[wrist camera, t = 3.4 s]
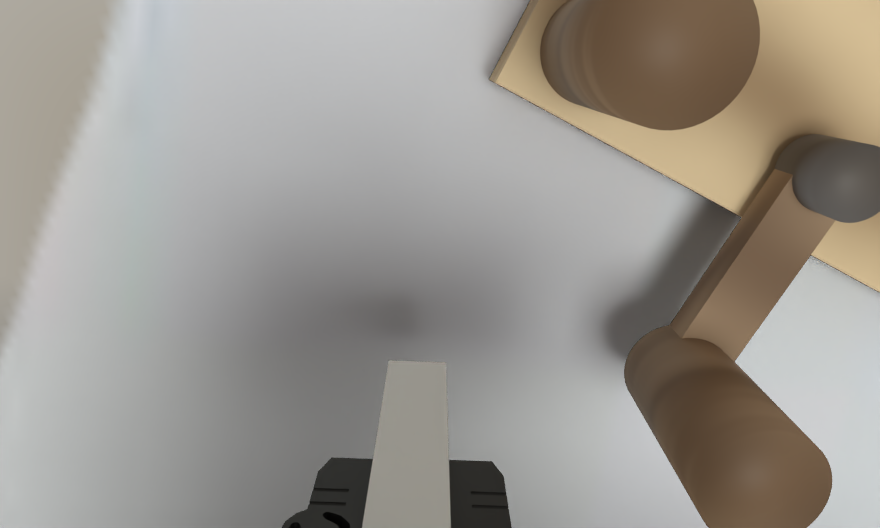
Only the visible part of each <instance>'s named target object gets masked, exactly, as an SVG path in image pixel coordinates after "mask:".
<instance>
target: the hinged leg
mask: <svg viewBox="0 0 880 528" xmlns="http://www.w3.org/2000/svg"><path fill="white" fill-rule="evenodd" d="M878 212H880V147H878V146H875V145H871V144H866V143H861V142H856V141H851V140H846V139H841V138H836V137H831V136H826V135H820V134H811V135H806V136H803V137H800V138H798V139H796V140H794V141H793V142H791V143H790V144H789V145H788V146H787V147H786V148H785V149H784V150H783V151H782V153H781V154H780V156H779V157H778V160H777V162H776V165H775V169H774V170H773V172H772V173H771V175H770V176H769V178H768V179H767V181H766V182H765V184H764V185H763V187H762V188H761V190H760V191H759V193H758V194H757V196H756V197H755V199H754V200H753V202H752V203H751V205H750V206H749V208H748V209H747V211H746V212H745V214H744V215H743V217H742V218H741V220H740V221H739V223H738V224H737V225H736V227H735V228H734V230H733V231H732V233H731V234H730V236H729V237H728V239H727V240H726V242H725V243H724V245H723V246H722V248H721V249H720V251H719V252H718V254H717V255H716V257H715V258H714V260H713V261H712V263H711V264H710V266H709V267H708V269H707V270H706V272H705V273H704V275H703V276H702V278H701V279H700V281H699V282H698V284H697V285H696V287H695V288H694V290H693V291H692V292H691V294H690V295H689V297H688V298H687V300H686V301H685V303H684V304H683V306H682V307H681V309H680V310H679V312H678V313H677V315H676V316H675V318H674V319H673V321H672V322H671V324H670V325H668V326H663V327H660V328H657V329H655V330H653V331H651V332H649V333H648V334H646V335H645V336H643V337H642V338H641V339H640V340H639V341H638V342H637V343H636V344H635V345H634V347H633V348H632V349H631V351H630V353H629V355H628V357H627V359H626V363H625V369H624V378H625V383H626V386H627V388H628V390H629V392H630V394H631V396H632V397H633V399H634V401H635V403H636V404H637V406H638V408H639V410H640V411H641V413H642V415H643V417H644V418H645V420H646V422H647V423H648V425H649V427H650V429H651V430H652V432H653V434H654V436H655V437H656V439H657V441H658V443H659V444H660V446H661V448H662V450H663V451H664V453H665V455H666V456H667V458H668V460H669V462H670V463H671V465H672V467H673V469H674V470H675V472H676V474H677V476H678V477H679V479H680V481H681V483H682V484H683V486H684V488H685V489H686V491H687V493H688V495H689V496H690V498H691V500H692V502H693V503H694V505H695V507H696V509H697V510H698V512H699V514H700V516H701V517H702V519H703V521H704V522H705V523H706V525H707V526H708V527H709V528H807V527H808V526H809V525H810V524H811V523H812V522H813V521H814V520H815V519H816V518H817V517H818V516H819V515H820V513H821V512H822V510H823V509H824V507H825V505H826V503H827V501H828V499H829V496H830V492H831V488H832V472H831V468H830V465H829V463H828V460H827V458H826V457H825V455H824V454H823V452H822V451H821V450H820V449H819V448H818V447H817V446H816V445H815V444H814V443H813V442H812V441H811V440H810V439H809V438H808V437H807V436H806V435H805V434H804V433H803V432H802V431H801V429H800V428H799V427H798V426H797V425H796V424H795V423H794V422H793V421H792V420H791V419H790V418H789V417H788V416H787V415H786V414H785V413H784V412H783V411H782V410H781V409H780V408H779V407H778V406H777V405H776V404H775V403H774V402H773V401H772V400H771V399H770V398H769V397H768V396H767V395H766V394H765V393H764V392H763V391H762V390H761V389H760V388H759V387H758V386H757V385H756V383H755V382H754V381H753V380H752V379H751V378H750V377H749V376H748V375H747V374H746V373H745V372H744V371H743V370H742V369H741V368H740V367H739V366H738V365H737V364H736V363H735V360H736V359H737V357H738V356H739V355H740V353H741V352H742V350H743V349H744V348H745V346H746V345H747V343H748V342H749V341H750V339H751V338H752V336H753V335H754V334H755V332H756V331H757V329H758V328H759V327H760V325H761V324H762V322H763V321H764V320H765V318H766V317H767V316H768V314H769V313H770V311H771V310H772V309H773V307H774V306H775V304H776V303H777V302H778V300H779V299H780V297H781V296H782V295H783V293H784V292H785V290H786V289H787V288H788V286H789V285H790V283H791V282H792V281H793V279H794V278H795V276H796V275H797V274H798V272H799V271H800V269H801V268H802V267H803V265H804V264H805V262H806V261H807V260H808V258H809V257H810V255H811V254H812V253H813V251H814V250H815V248H816V247H817V246H818V244H819V243H820V242H821V240H822V239H823V237H824V236H825V235H826V233H827V232H828V230H829V229H830V228H831V226H832V225H833V223H834V222H835V221H839V222H844V223H855V222H860V221H864V220H866V219H869V218H871V217H873V216H874V215H876V214H877V213H878Z"/></svg>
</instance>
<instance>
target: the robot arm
mask: <svg viewBox="0 0 880 528" xmlns="http://www.w3.org/2000/svg"><path fill="white" fill-rule="evenodd" d="M282 528H512V527H511V521H510V515H509V509H508V502H507V496H506V489H505V483H504V477H503V475H502V474H501V472H500V471H499V470H498V469H497V467H496V466H495V465H494V464H493V462H492V461H463V460H449V446H448V412H447V377H446V362H419V361H391V360H389V362H388V368H387V374H386V380H385V387H384V393H383V399H382V405H381V412H380V418H379V424H378V430H377V437H376V443H375V449H374V455H373V459H355V458H331V459H330V460H329V461H328V462H327V463H326V464H325V465H324V466H323V467H322V468H321V469H320V470H319V471H318V474H317V478H316V481H315V485H314V489H313V491H312V495H311V498H310V504H309V505H308V509H307V510H304V511H301V512H299V513H296V514H295V515H293V516H292V517H291V518H289V519H288V520H287V521H285V523H284V525H283V526H282Z"/></svg>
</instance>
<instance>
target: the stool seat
mask: <svg viewBox="0 0 880 528" xmlns="http://www.w3.org/2000/svg"><path fill="white" fill-rule="evenodd" d="M489 80H490V81H492V82H494V83H496V84H498V85H499V86H501V87H503V88H505V89H507V90H509V91H510V92H512V93H514V94H516V95H518V96H520V97H521V98H523V99H525V100H527V101H529V102H531V103H532V104H534V105H536V106H538V107H540V108H542V109H543V110H545V111H547V112H549V113H551V114H553V115H554V116H556V117H558V118H560V119H562V120H564V121H565V122H567V123H569V124H571V125H573V126H575V127H576V128H578V129H580V130H582V131H584V132H586V133H587V134H589V135H591V136H593V137H595V138H597V139H598V140H600V141H602V142H604V143H606V144H608V145H609V146H611V147H613V148H615V149H617V150H619V151H620V152H622V153H624V154H626V155H628V156H630V157H632V158H633V159H635V160H637V161H639V162H641V163H643V164H644V165H646V166H648V167H650V168H652V169H654V170H655V171H657V172H659V173H661V174H663V175H665V176H666V177H668V178H670V179H672V180H674V181H676V182H677V183H679V184H681V185H683V186H685V187H687V188H688V189H690V190H692V191H694V192H696V193H698V194H699V195H701V196H703V197H705V198H707V199H709V200H710V201H712V202H714V203H716V204H718V205H720V206H721V207H723V208H725V209H727V210H729V211H731V212H732V213H734V214H736V215H738V216H740V217H743V215H744V214H745V212H746V211H747V209H748V208H749V206H750V205H751V203H752V202H753V200H754V199H755V197H756V196H757V194H758V193H759V191H760V190H761V188H762V187H763V185H764V184H765V182H766V181H767V179H768V178H769V176H770V175H771V173H772V172H773V170H774V169H775V165H776V162H777V160H778V157H779V156H780V154H781V153H782V151H783V150H784V149H785V148H786V147H787V146H788V145H789V144H790V143H791V142H793V141H794V140H796V139H798V138H800V137H803V136H806V135H811V134H820V135H826V136H831V137H836V138H841V139H846V140H851V141H856V142H861V143H866V144H871V145H875V146H878V147H880V0H530V2H529V4H528V5H527V7H526V9H525V11H524V13H523V15H522V17H521V19H520V21H519V23H518V25H517V27H516V29H515V30H514V32H513V34H512V36H511V38H510V40H509V42H508V44H507V46H506V48H505V50H504V52H503V53H502V55H501V57H500V59H499V61H498V63H497V65H496V67H495V69H494V71H493V73H492V75H491V77H490V78H489ZM811 256H813V257H815V258H817V259H819V260H821V261H822V262H824V263H826V264H828V265H830V266H832V267H833V268H835V269H837V270H839V271H841V272H843V273H844V274H846V275H848V276H850V277H852V278H854V279H855V280H857V281H859V282H861V283H863V284H865V285H866V286H868V287H870V288H872V289H874V290H876V291H877V292H879V293H880V212H878V213H877V214H876V215H874V216H873V217H871V218H869V219H866V220H864V221H860V222H855V223H844V222H839V221H835V222H834V223H833V225H832V226H831V228H830V229H829V230H828V232H827V233H826V235H825V236H824V237H823V239H822V240H821V242H820V243H819V244H818V246H817V247H816V248H815V250H814V251H813V253H812V254H811Z"/></svg>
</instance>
